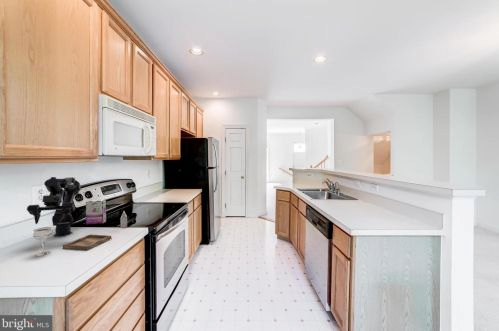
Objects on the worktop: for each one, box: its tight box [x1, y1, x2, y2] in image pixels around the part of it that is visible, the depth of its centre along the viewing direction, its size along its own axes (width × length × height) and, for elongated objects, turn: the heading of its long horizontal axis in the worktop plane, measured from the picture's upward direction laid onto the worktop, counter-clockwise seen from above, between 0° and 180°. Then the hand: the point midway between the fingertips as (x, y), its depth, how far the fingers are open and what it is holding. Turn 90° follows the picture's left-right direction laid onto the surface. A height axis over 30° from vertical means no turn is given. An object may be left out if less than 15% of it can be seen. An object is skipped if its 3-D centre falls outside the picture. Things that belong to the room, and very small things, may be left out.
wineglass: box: [32, 226, 53, 257], centre depth 104 cm, size 7×7×12 cm
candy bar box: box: [85, 199, 107, 225], centre depth 155 cm, size 11×5×16 cm, turn 102°
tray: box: [62, 234, 112, 251], centre depth 117 cm, size 16×14×2 cm
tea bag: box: [120, 210, 128, 229], centre depth 148 cm, size 4×7×10 cm, turn 29°
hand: (47, 222), depth 111 cm, fingers open, 9 cm apart
